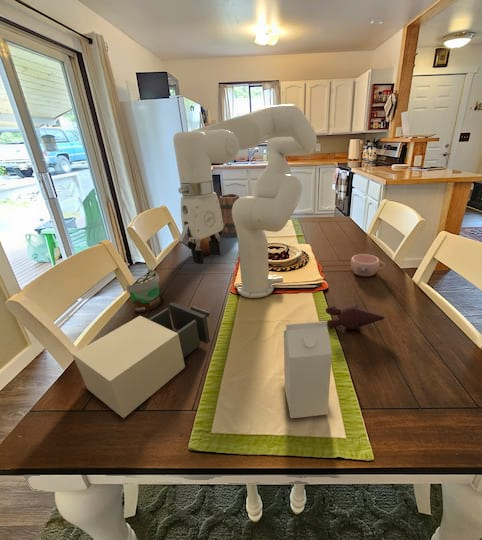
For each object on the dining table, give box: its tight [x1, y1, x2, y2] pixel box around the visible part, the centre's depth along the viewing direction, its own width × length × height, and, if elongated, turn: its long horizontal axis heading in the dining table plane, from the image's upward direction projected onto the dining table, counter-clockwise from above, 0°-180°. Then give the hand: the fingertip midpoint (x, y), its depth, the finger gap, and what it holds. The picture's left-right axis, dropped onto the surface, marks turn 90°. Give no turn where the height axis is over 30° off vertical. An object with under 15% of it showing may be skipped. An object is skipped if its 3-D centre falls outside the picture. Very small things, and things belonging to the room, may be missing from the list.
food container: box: [126, 268, 161, 313], centre depth 91 cm, size 12×6×10 cm, turn 168°
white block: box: [72, 315, 186, 419], centre depth 63 cm, size 16×14×10 cm
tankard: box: [218, 193, 240, 238], centre depth 154 cm, size 24×17×20 cm
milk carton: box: [283, 320, 333, 419], centre depth 53 cm, size 7×7×19 cm
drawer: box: [147, 301, 211, 359], centre depth 72 cm, size 19×13×8 cm
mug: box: [350, 253, 386, 277], centre depth 106 cm, size 12×10×6 cm
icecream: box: [325, 304, 386, 331], centre depth 77 cm, size 7×7×15 cm
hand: (207, 258), depth 76 cm, fingers open, 5 cm apart
